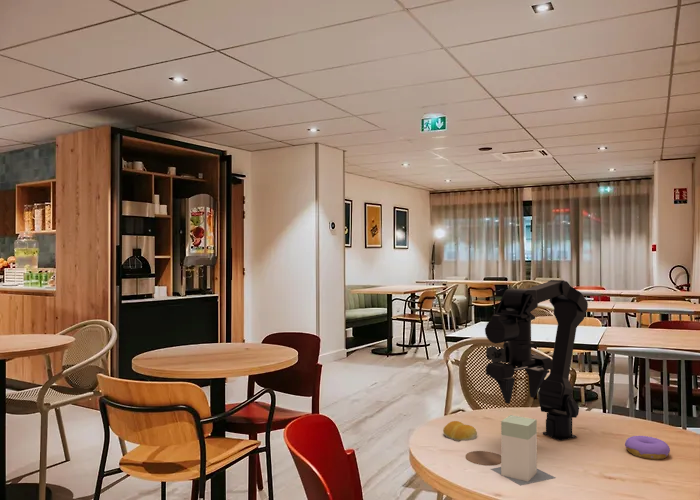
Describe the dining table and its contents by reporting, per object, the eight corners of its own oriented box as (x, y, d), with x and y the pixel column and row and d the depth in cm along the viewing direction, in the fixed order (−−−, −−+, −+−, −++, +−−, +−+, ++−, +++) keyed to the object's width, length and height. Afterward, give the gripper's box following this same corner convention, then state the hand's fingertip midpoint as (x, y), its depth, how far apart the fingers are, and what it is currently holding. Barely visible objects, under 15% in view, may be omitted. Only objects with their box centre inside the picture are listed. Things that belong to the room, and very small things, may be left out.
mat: (524, 464, 132) (524, 462, 132) (556, 479, 122) (556, 477, 122) (490, 470, 127) (490, 468, 127) (520, 487, 118) (520, 485, 118)
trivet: (487, 451, 140) (487, 448, 140) (511, 463, 132) (511, 460, 132) (458, 456, 136) (458, 454, 136) (481, 469, 128) (481, 466, 128)
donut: (669, 449, 141) (669, 432, 140) (670, 469, 133) (670, 451, 132) (625, 443, 146) (625, 426, 145) (624, 462, 138) (624, 444, 137)
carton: (510, 466, 129) (510, 414, 129) (536, 472, 125) (536, 419, 125) (501, 475, 124) (501, 421, 124) (528, 481, 120) (528, 426, 120)
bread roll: (465, 445, 146) (465, 429, 146) (438, 436, 152) (438, 421, 152) (483, 438, 151) (483, 423, 151) (457, 430, 158) (457, 416, 158)
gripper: (519, 331, 152) (520, 388, 152) (469, 338, 142) (470, 399, 142) (553, 336, 143) (554, 397, 143) (502, 344, 133) (503, 409, 133)
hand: (520, 400), depth 140 cm, fingers open, 9 cm apart
